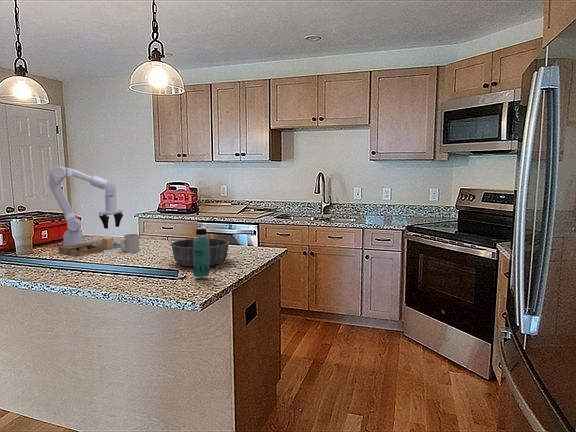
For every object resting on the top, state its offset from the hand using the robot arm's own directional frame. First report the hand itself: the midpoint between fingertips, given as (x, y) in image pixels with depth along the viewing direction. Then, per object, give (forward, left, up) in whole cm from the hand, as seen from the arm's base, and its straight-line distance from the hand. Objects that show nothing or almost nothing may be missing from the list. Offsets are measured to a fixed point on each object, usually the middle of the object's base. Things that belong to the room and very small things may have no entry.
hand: (111, 227), depth 225 cm
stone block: (+6, -8, -9) cm, 14 cm away
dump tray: (+6, -8, -10) cm, 14 cm away
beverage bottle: (+87, -32, -10) cm, 93 cm away
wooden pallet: (+5, -23, -10) cm, 26 cm away
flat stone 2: (+1, -20, -9) cm, 22 cm away
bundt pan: (+70, -11, -10) cm, 72 cm away
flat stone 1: (+1, -26, -9) cm, 28 cm away
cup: (+24, -10, -10) cm, 28 cm away
